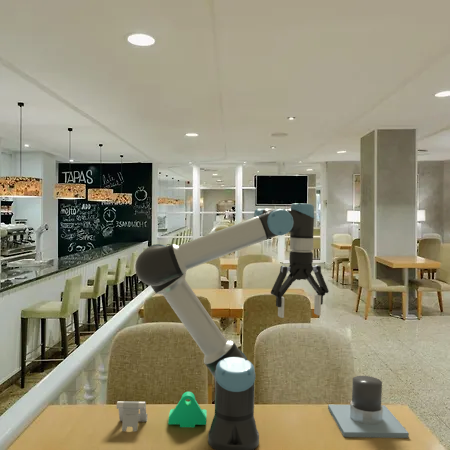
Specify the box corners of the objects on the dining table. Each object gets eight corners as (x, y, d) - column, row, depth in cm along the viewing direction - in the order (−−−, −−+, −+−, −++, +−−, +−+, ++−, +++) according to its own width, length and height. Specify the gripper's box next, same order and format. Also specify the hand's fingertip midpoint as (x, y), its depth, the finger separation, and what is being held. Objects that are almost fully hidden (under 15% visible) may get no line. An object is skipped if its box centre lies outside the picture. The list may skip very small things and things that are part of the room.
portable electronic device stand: (147, 420, 150) (147, 394, 149) (143, 431, 142) (143, 405, 141) (120, 419, 149) (121, 394, 149) (115, 431, 142) (115, 404, 141)
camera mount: (206, 417, 153) (207, 386, 153) (206, 428, 145) (206, 395, 145) (170, 416, 153) (170, 386, 152) (168, 427, 145) (168, 395, 145)
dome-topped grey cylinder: (346, 416, 151) (347, 380, 151) (359, 408, 158) (361, 373, 158) (372, 426, 145) (373, 388, 145) (385, 417, 152) (386, 381, 151)
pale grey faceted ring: (344, 417, 151) (344, 404, 151) (359, 408, 159) (359, 396, 158) (373, 428, 144) (373, 414, 144) (387, 418, 152) (387, 405, 151)
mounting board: (343, 436, 141) (344, 432, 141) (328, 408, 161) (328, 404, 161) (408, 437, 142) (408, 433, 142) (384, 409, 162) (384, 405, 162)
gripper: (327, 249, 158) (325, 311, 158) (261, 250, 149) (259, 315, 149) (340, 251, 151) (338, 315, 151) (272, 252, 142) (270, 320, 142)
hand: (299, 315), depth 150 cm, fingers open, 13 cm apart
